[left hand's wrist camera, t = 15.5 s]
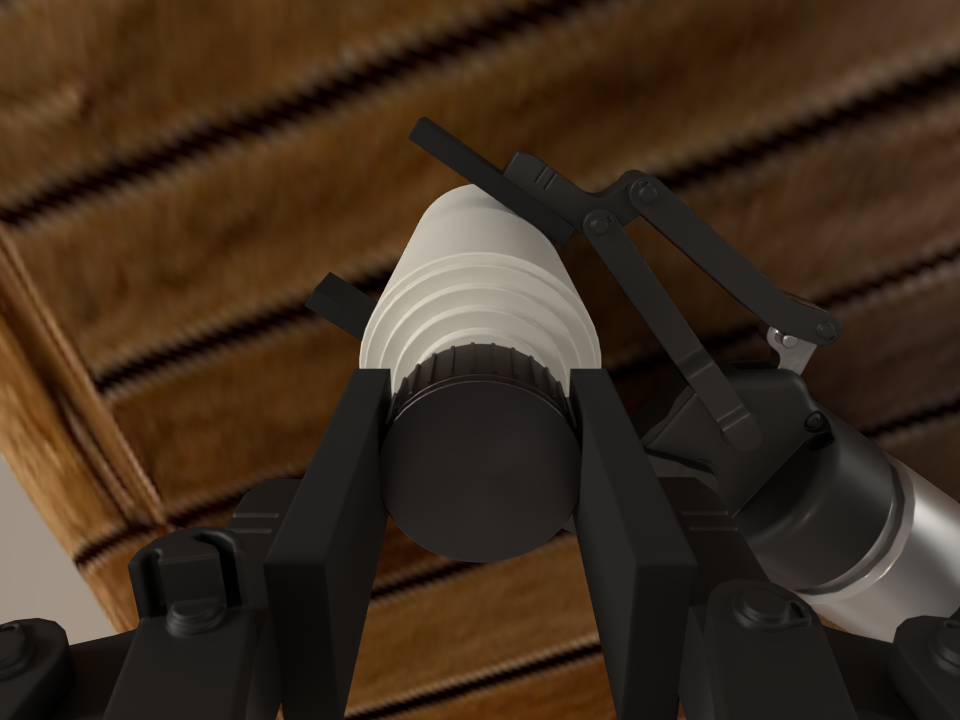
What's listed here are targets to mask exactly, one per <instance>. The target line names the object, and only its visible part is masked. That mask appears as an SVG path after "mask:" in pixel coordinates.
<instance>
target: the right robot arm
mask: <svg viewBox="0 0 960 720" xmlns="http://www.w3.org/2000/svg"><path fill="white" fill-rule="evenodd" d="M408 138H409V139H410V140H411V141H413V142H414V143H416V144H417V145H419V146H420V147H421V148H423V149H424V150H426V151H427V152H429V153H430V154H431V155H433V156H434V157H436V158H437V159H439V160H440V161H441V162H443V163H444V164H446V165H447V166H449V167H450V168H451V169H453V170H454V171H456V172H457V173H459V174H460V175H461V176H463V177H464V178H466V179H467V180H469V181H470V182H471V183H473V184H474V185H476V186H477V187H479V188H480V189H481V190H483V191H484V192H486V193H487V194H489V195H490V196H491V197H493V198H494V199H496V200H497V201H499V202H500V203H501V204H503V205H504V206H506V207H507V208H509V209H510V210H511V211H513V212H514V213H516V214H517V215H518V216H520V217H521V218H523V219H524V220H526V221H527V222H528V223H530V224H531V225H533V226H534V227H536V228H537V229H538V230H540V231H541V232H543V233H544V234H546V235H547V236H548V237H550V238H551V239H553V240H554V241H556V242H557V243H558V244H560V245H561V246H564V245H565V244H566V242H567V241H568V239H569V238H570V237H571V235H572V234H573V233H574V231H575V230H578V231H579V232H580V233H582V234H583V235H584V236H585V237H586V239H587V240H588V242H589V243H590V245H591V246H592V247H593V249H594V250H595V252H596V253H597V254H598V256H599V257H600V259H601V260H602V262H603V263H604V264H605V266H606V267H607V269H608V270H609V272H610V273H611V274H612V276H613V277H614V279H615V280H616V282H617V283H618V284H619V286H620V287H621V289H622V290H623V292H624V293H625V294H626V296H627V297H628V299H629V300H630V301H631V303H632V304H633V306H634V307H635V309H636V310H637V311H638V313H639V314H640V316H641V317H642V319H643V320H644V321H645V323H646V324H647V326H648V327H649V329H650V330H651V331H652V333H653V334H654V336H655V337H656V338H657V340H658V341H659V343H660V344H661V346H662V347H663V349H664V350H665V352H666V353H667V354H668V356H669V357H670V359H671V360H672V362H673V363H674V364H675V366H676V367H677V368H676V367H675V366H674V367H673V368H672V370H671V371H670V372H669V373H668V374H667V376H666V377H665V378H664V379H663V381H662V383H661V385H660V387H659V389H658V391H657V393H656V395H655V397H654V398H653V399H651V400H650V401H648V402H647V403H646V404H644V405H643V406H642V407H640V408H639V409H638V410H637V411H636V412H635V414H634V415H633V416H632V417H629V419H630V421H631V423H632V425H633V427H634V429H635V431H636V433H637V436H638V438H639V440H640V442H641V444H642V446H643V448H644V450H645V453H646V455H647V457H648V459H649V461H650V463H651V465H652V467H653V470H654V472H655V474H656V476H657V477H696V478H697V479H699V480H700V481H701V482H703V483H704V484H705V485H707V486H708V487H709V488H711V489H712V490H713V491H715V492H716V493H717V494H718V496H719V497H720V499H721V501H722V502H723V504H724V506H725V507H726V509H727V511H728V515H730V516H731V517H732V519H733V521H734V522H735V524H736V525H737V527H738V528H737V529H738V531H740V532H741V534H742V535H743V537H744V539H745V540H746V542H747V544H748V545H749V547H750V549H751V550H752V552H753V554H754V555H755V557H756V559H757V560H758V562H759V563H760V565H761V567H762V568H763V570H764V572H765V573H766V575H767V577H768V578H769V580H770V582H771V583H774V584H777V585H779V586H781V587H783V588H785V589H787V590H789V591H792V592H794V593H795V594H797V595H798V596H799V597H800V598H802V599H803V600H804V601H805V602H807V603H808V604H809V605H810V606H811V607H812V609H813V610H814V611H815V612H816V613H818V614H820V615H821V616H823V617H825V618H826V619H828V620H830V621H831V622H833V623H835V624H836V625H838V626H840V627H841V628H843V629H845V630H846V631H848V632H850V633H851V634H855V635H860V636H864V637H868V638H873V639H877V640H882V641H886V642H891V643H893V639H894V635H895V632H896V628H897V627H898V626H899V625H900V624H901V623H902V622H903V621H904V620H906V619H908V618H913V617H917V616H922V615H927V616H937V617H947V618H950V619H953V620H957V621H960V504H959V503H958V502H957V501H955V500H954V499H952V498H951V497H950V496H948V495H947V494H945V493H944V492H943V491H941V490H940V489H938V488H937V487H936V486H934V485H933V484H931V483H930V482H929V481H927V480H926V479H924V478H923V477H922V476H920V475H919V474H917V473H916V472H915V471H913V470H912V469H910V468H909V467H908V466H906V465H905V464H904V463H902V462H901V461H899V460H898V459H897V458H895V457H893V456H892V455H890V454H888V453H887V452H885V451H883V450H881V449H880V448H879V447H878V446H877V445H876V444H875V443H874V442H872V441H871V440H870V439H868V438H867V437H865V436H864V435H863V434H861V433H860V432H858V431H857V430H856V429H854V428H853V427H851V426H850V425H849V424H847V423H846V422H844V421H843V420H842V419H840V418H839V417H837V416H836V415H835V414H833V413H832V412H830V411H829V410H828V409H826V408H825V407H823V406H822V405H821V404H819V403H818V402H816V401H815V400H813V399H812V398H811V396H810V394H809V392H808V389H807V386H806V383H805V381H804V380H803V379H802V377H801V376H800V375H801V374H802V372H803V370H804V368H805V366H806V365H807V363H808V361H809V359H810V357H811V355H812V354H813V352H814V350H815V348H816V346H817V345H820V346H826V345H830V344H831V343H833V342H835V341H836V340H837V339H838V337H839V336H840V334H841V331H842V327H841V323H840V321H839V319H837V318H836V317H834V316H832V315H831V314H829V313H828V312H826V311H824V310H823V309H821V308H819V307H818V306H816V305H814V304H812V303H811V302H809V301H808V300H806V299H804V298H801V297H798V296H796V295H793V294H790V293H787V292H784V291H782V290H780V289H779V288H777V287H776V286H775V285H774V284H773V283H772V282H771V281H770V280H769V279H768V278H766V277H765V276H764V275H763V274H762V273H761V272H760V271H759V270H758V269H757V268H755V267H754V266H753V265H752V264H751V263H750V262H749V261H748V260H747V259H745V258H744V257H743V256H742V255H741V254H740V253H739V252H738V251H737V250H736V249H734V248H733V247H732V246H731V245H730V244H729V243H728V242H727V241H726V240H725V239H723V238H722V237H721V236H720V235H719V234H718V233H717V232H716V231H715V230H714V229H712V228H711V227H710V226H709V225H708V224H707V223H706V222H705V221H704V220H702V219H701V218H700V217H699V216H698V215H697V214H696V213H695V212H694V211H693V210H691V209H690V208H689V207H688V206H687V205H686V204H685V203H684V202H683V201H682V200H680V199H679V198H678V197H677V196H676V195H675V194H674V193H673V192H672V191H671V190H669V189H668V188H667V187H666V186H665V185H664V184H663V183H662V182H661V181H659V180H658V179H656V178H654V177H652V176H650V175H648V174H645V173H643V172H641V171H638V170H630V171H627V172H625V173H624V174H623V175H621V177H620V178H619V180H618V181H616V182H615V183H614V184H612V185H611V186H609V187H608V188H607V189H605V190H603V191H601V192H598V193H588V192H585V191H583V190H581V189H580V188H578V187H577V186H576V185H574V184H573V183H572V182H570V181H569V180H567V179H566V178H565V177H563V176H562V175H561V174H559V173H558V172H556V171H555V170H554V169H552V168H551V167H549V166H548V165H547V164H545V163H544V162H543V161H541V160H540V159H538V158H537V157H536V156H534V155H533V154H532V153H529V152H525V151H521V150H517V149H516V151H515V152H514V154H513V155H512V156H511V158H510V159H509V161H508V162H507V164H506V165H505V167H504V168H503V170H502V171H501V170H500V169H498V168H497V167H496V166H494V165H493V164H491V163H490V162H489V161H487V160H486V159H484V158H483V157H482V156H480V155H479V154H477V153H476V152H475V151H473V150H472V149H470V148H469V147H468V146H466V145H465V144H463V143H462V142H461V141H459V140H458V139H456V138H455V137H454V136H452V135H451V134H449V133H448V132H447V131H445V130H444V129H442V128H441V127H440V126H438V125H437V124H435V123H434V122H432V121H431V120H430V119H428V118H427V117H422V118H419V120H418V122H417V123H416V125H415V127H414V128H413V130H412V131H411V133H410V135H409V136H408ZM639 215H641V216H642V217H643V218H644V219H645V220H646V221H647V222H649V223H650V224H651V225H652V226H653V227H654V228H655V229H656V230H658V231H659V232H660V233H661V234H662V235H663V236H664V237H666V238H667V239H668V240H669V241H670V242H671V243H672V244H673V245H675V246H676V247H677V248H678V249H679V250H680V251H681V252H683V253H684V254H685V255H686V256H687V257H688V258H689V259H690V260H692V261H693V262H694V263H695V264H696V265H697V266H698V267H700V268H701V269H702V270H703V271H704V272H705V273H706V274H707V275H709V276H710V277H711V278H712V279H713V280H714V281H715V282H716V283H718V284H719V285H720V286H721V287H722V288H723V289H724V290H726V291H727V292H728V293H729V294H730V295H731V296H732V297H733V298H735V299H736V300H737V301H738V302H739V303H741V304H742V305H743V306H745V307H746V308H747V309H749V310H750V311H751V312H752V313H754V314H755V315H756V316H758V317H759V318H760V322H759V327H758V333H759V336H760V337H761V339H763V340H764V341H765V342H766V343H767V344H769V345H770V347H771V356H770V359H751V360H713V359H712V358H711V356H710V355H709V354H708V352H707V351H706V350H705V348H704V347H703V345H702V344H701V343H700V341H699V340H698V338H697V337H696V335H695V334H694V332H693V331H692V329H691V328H690V326H689V325H688V323H687V322H686V321H685V319H684V318H683V316H682V315H681V313H680V312H679V310H678V309H677V307H676V306H675V304H674V303H673V301H672V300H671V298H670V297H669V295H668V294H667V293H666V291H665V290H664V288H663V287H662V285H661V284H660V282H659V281H658V279H657V278H656V276H655V275H654V273H653V272H652V270H651V269H650V268H649V266H648V265H647V263H646V262H645V260H644V259H643V257H642V256H641V254H640V253H639V251H638V250H637V248H636V247H635V245H634V244H633V243H632V241H631V240H630V238H629V237H628V235H627V234H626V232H625V231H624V229H623V228H622V227H623V226H624V225H626V224H627V223H629V222H630V221H632V220H633V219H635V218H636V217H638V216H639ZM377 304H378V302H377V301H375V300H374V299H372V298H370V297H369V296H367V295H366V294H364V293H363V292H361V291H359V290H358V289H356V288H355V287H353V286H352V285H350V284H348V283H347V282H345V281H344V280H342V279H341V278H339V277H337V276H336V275H334V274H333V273H331V272H330V273H329V274H328V275H327V276H326V277H325V278H324V279H323V280H322V282H321V283H320V284H319V285H318V286H317V287H316V288H315V290H314V291H313V293H312V294H311V296H310V298H309V299H308V301H307V303H306V304H305V306H306V307H308V308H309V309H311V310H312V311H314V312H316V313H317V314H319V315H321V316H322V317H324V318H325V319H327V320H329V321H330V322H332V323H333V324H335V325H337V326H338V327H340V328H342V329H343V330H345V331H346V332H348V333H350V334H351V335H353V336H354V337H356V338H358V339H359V340H361V341H362V340H363V336H364V333H365V329H366V327H367V324H368V322H369V320H370V318H371V315H372V313H373V311H374V309H375V307H376V306H377ZM562 528H563V529H565V530H567V531H569V532H571V533H573V534H575V535H577V534H576V529H575V525H574V520H573V516H572V514H571V516H570V518H569V519H568V521H567V522H566V523H565V524H564V525H563V527H562Z"/></svg>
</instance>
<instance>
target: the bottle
mask: <svg viewBox="0 0 960 720" xmlns="http://www.w3.org/2000/svg"><path fill="white" fill-rule="evenodd" d="M471 342H475V344H491V343H495V344H496V345H499V346H504V347H508V348H511V347H514V348H515V350H517V351H519V352H521V353H523V354H526V355H528V356H530V355H531V356H533V357H534V360H536V361H537V362H539V363H540V364H541V365H542V366H543V367H544V368H545V367H546V366H547V367H548V368H549V371H550V374H551V375H552V376H553V377H554V378H555V379H556V381H560V382H561V384H562V388H563V391H564V395H565V397H569V384H570V369H601V352H600V346H599V340H598V337H597V334H596V330H595V327H594V325H593V323H592V320H591V318H590V316H589V314H588V312H587V310H586V308H585V306H584V304H583V302H582V300H581V298H580V296H579V294H578V293H577V291H576V289H575V287H574V285H573V283H572V281H571V279H570V277H569V275H568V273H567V271H566V269H565V267H564V265H563V263H562V261H561V259H560V258H559V256H558V254H557V252H556V250H555V248H554V246H553V244H552V242H551V240H550V238H549V237H548V236H547V235H546V234H544V233H543V232H541V231H540V230H538V229H537V228H536V227H534V226H533V225H531V224H530V223H528V222H527V221H526V220H524V219H523V218H521V217H520V216H518V215H517V214H516V213H514V212H513V211H511V210H510V209H509V208H507V207H506V206H504V205H503V204H501V203H500V202H499V201H497V200H496V199H494V198H493V197H491V196H490V195H489V194H487V193H486V192H484V191H483V190H481V189H480V188H479V187H477V186H476V185H474V184H470V185H466V186H461V187H458V188H456V189H453V190H451V191H449V192H447V193H445V194H444V195H442V196H441V197H440V198H438V199H437V200H436V201H435V202H434V203H433V204H432V205H431V206H430V207H429V208H428V209H427V210H426V212H425V213H424V215H423V216H422V218H421V220H420V222H419V224H418V226H417V228H416V230H415V231H414V233H413V235H412V237H411V239H410V241H409V243H408V245H407V247H406V249H405V251H404V253H403V255H402V257H401V259H400V261H399V263H398V265H397V267H396V268H395V270H394V272H393V274H392V276H391V278H390V280H389V282H388V284H387V286H386V288H385V290H384V292H383V294H382V296H381V298H380V300H379V302H378V304H377V306H376V307H375V309H374V311H373V313H372V315H371V318H370V320H369V322H368V324H367V327H366V329H365V333H364V336H363V340H362V344H361V351H360V369H391V389H392V397H393V394H394V392H395V393H397V392H398V390H399V388H400V386H401V383H402V379H403V378H404V377H406V378H407V377H408V375H409V374H410V373H411V372H412V371H413V370H414V369H415V366H416V365H417V364H418V363H419V364H421V363H422V362H424V361H425V360H427V359H428V358H430V357H432V354H433V353H436V354H437V353H440V352H442V351H444V350H447V349H450V348H451V346H455V347H456V346H462V345H467V344H471Z"/></svg>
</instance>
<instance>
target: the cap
mask: <svg viewBox="0 0 960 720" xmlns="http://www.w3.org/2000/svg"><path fill="white" fill-rule="evenodd" d="M384 427H386V428H385V432H384V435H383V439H382V442H381V446H380V449H379V472H380V489H381V499H382V501H383V503H384V505H385V508H386V510H387V511H388V513H389V515H390V516H391V518H392V519H393V521H394V522H395V523H396V524H397V526H398V527H399V528H400V529H401V530H402V531H403V532H404V533H405V534H406V535H407V536H408V537H409V538H411V539H412V540H413V541H415V542H416V543H418V544H419V545H420V546H422V547H424V548H426V549H428V550H429V551H431V552H434V553H436V554H439V555H441V556H444V557H448V558H451V559H455V560H461V561H467V562H494V561H500V560H506V559H509V558H513V557H517V556H520V555H522V554H524V553H527V552H529V551H531V550H533V549H535V548H537V547H539V546H540V545H542V544H543V543H545V542H546V541H547V540H549V539H550V538H551V537H553V536H554V535H555V534H556V533H557V532H558V531H559V530H560V529H561V528H562V527H563V525H564V524H565V523H566V522H567V521H568V519H569V518H570V516H571V514H572V513H573V511H574V510H575V507H576V505H577V503H578V501H579V498H580V485H581V469H582V450H581V446H580V443H579V439H578V436H577V433H576V432H579V429H578V425H577V422H576V419H575V415H574V412H573V409H572V406H571V402H570V399H569V397H565V395H564V391H563V388H562V384H561V382H560V381H556V379H555V378H554V377H553V376H552V375H551V374H550V371H549V368H548V367H547V366H546V367H545V368H544V367H543V366H542V365H541V364H540V363H539V362H537V361H536V360H534V357H533V356H531V355H530V356H528V355H526V354H523V353H521V352H519V351H517V350H515V348H514V347H511V348H508V347H504V346H499V345H496V344H495V343H491V344H475V342H471V344H467V345H462V346H456V347H455V346H451V348H450V349H447V350H444V351H442V352H440V353H437V354H436V353H433V354H432V357H430V358H428V359H427V360H425V361H424V362H422V363H421V364H419V363H418V364H417V365H416V366H415V369H414V370H413V371H412V372H411V373H410V374H409V375H408V377H407V378H406V377H404V378H403V379H402V383H401V386H400V388H399V390H398V392H397V393H395V392H394V394H393V397H392V400H391V403H390V407H389V410H388V413H387V417H386V420H385V423H384Z"/></svg>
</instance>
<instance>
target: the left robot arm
mask: <svg viewBox="0 0 960 720" xmlns="http://www.w3.org/2000/svg"><path fill="white" fill-rule="evenodd" d="M569 399H570V402H571V406H572V409H573V412H574V415H575V419H576V422H577V425H578V429H579V432H576V433H577V436H578V439H579V443H580V446H581V450H582V469H581V485H580V498H579V501H578V503H577V505H576V507H575V510H574V511H573V513H572V516H573V520H574V525H575V529H576V534H577V538H578V543H579V547H580V552H581V556H582V561H583V565H584V570H585V574H586V579H587V583H588V588H589V592H590V597H591V601H592V606H593V610H594V615H595V619H596V624H597V629H598V633H599V638H600V642H601V647H602V651H603V656H604V660H605V665H606V669H607V674H608V678H609V683H610V687H611V692H612V696H613V701H614V705H615V710H616V714H617V719H618V720H677V715H678V708H679V701H681V704H682V707H683V710H684V713H685V716H686V719H687V720H960V621H957V620H953V619H950V618H947V617H937V616H927V615H922V616H917V617H913V618H908V619H906V620H904V621H903V622H902V623H901V624H900V625H899V626H898V627H897V628H896V632H895V635H894V639H893V643H891V642H886V641H882V640H877V639H873V638H868V637H864V636H860V635H855V634H851V633H846V632H843V631H839V630H836V629H833V628H829V627H826V626H824V625H822V624H821V621H820V619H819V618H818V616H817V615H816V613H815V612H814V610H813V609H812V607H811V606H810V605H809V604H808V603H807V602H805V601H804V600H803V599H802V598H800V597H799V596H798V595H797V594H795V593H794V592H792V591H789V590H787V589H785V588H783V587H781V586H779V585H777V584H774V583H771V582H770V580H769V578H768V577H767V575H766V573H765V572H764V570H763V568H762V567H761V565H760V563H759V562H758V560H757V559H756V557H755V555H754V554H753V552H752V550H751V549H750V547H749V545H748V544H747V542H746V540H745V539H744V537H743V535H742V534H741V532H740V531H738V529H737V528H738V527H737V525H736V524H735V522H734V521H733V519H732V517H731V516H730V515H728V511H727V509H726V507H725V506H724V504H723V502H722V501H721V499H720V497H719V496H718V494H717V493H716V492H715V491H713V490H712V489H711V488H709V487H708V486H707V485H705V484H704V483H703V482H701V481H700V480H699V479H697V478H696V477H657V476H656V474H655V472H654V470H653V467H652V465H651V463H650V461H649V459H648V457H647V455H646V453H645V450H644V448H643V446H642V444H641V442H640V440H639V438H638V436H637V433H636V431H635V429H634V427H633V425H632V423H631V421H630V419H629V416H628V414H627V412H626V410H625V408H624V406H623V404H622V402H621V399H620V397H619V395H618V393H617V391H616V389H615V387H614V385H613V382H612V380H611V378H610V376H609V374H608V372H607V370H606V369H570V384H569ZM391 400H392V389H391V369H354V371H353V374H352V376H351V378H350V380H349V382H348V384H347V386H346V388H345V391H344V393H343V395H342V397H341V399H340V401H339V403H338V405H337V408H336V410H335V412H334V414H333V416H332V418H331V420H330V422H329V425H328V427H327V429H326V431H325V433H324V435H323V437H322V439H321V442H320V444H319V446H318V448H317V450H316V452H315V454H314V456H313V459H312V461H311V463H310V465H309V467H308V469H307V471H306V473H305V476H304V478H303V479H265V480H264V481H263V482H261V483H260V484H259V485H257V486H256V487H255V488H253V489H252V490H251V491H249V492H248V493H247V494H245V495H244V496H243V498H242V500H241V501H240V503H239V505H238V506H237V508H236V510H235V511H234V513H233V518H230V520H229V521H228V523H227V525H226V526H225V528H220V527H193V528H188V529H183V530H179V531H175V532H172V533H170V534H167V535H165V536H163V537H160V538H158V539H155V540H154V541H152V542H151V543H149V544H148V545H146V546H145V547H144V548H142V549H141V550H139V551H138V552H137V553H136V555H135V556H134V557H133V558H132V560H131V561H130V562H129V564H128V569H129V574H130V578H131V583H132V587H133V592H134V596H135V601H136V605H137V610H138V614H139V619H140V622H139V625H138V627H137V628H136V629H134V630H131V631H128V632H124V633H121V634H117V635H114V636H109V637H105V638H100V639H96V640H92V641H87V642H83V643H78V644H74V645H69V643H68V639H67V636H66V632H65V630H64V629H63V628H62V627H61V626H60V625H58V624H57V623H56V622H55V621H50V620H45V619H41V618H33V619H22V620H14V621H11V622H8V623H5V624H1V625H0V720H275V719H276V716H277V713H278V710H279V707H280V704H281V702H282V709H283V717H284V720H343V718H344V713H345V709H346V704H347V700H348V695H349V691H350V686H351V682H352V677H353V673H354V668H355V664H356V659H357V655H358V650H359V645H360V641H361V636H362V632H363V627H364V623H365V618H366V614H367V609H368V605H369V600H370V596H371V591H372V587H373V582H374V578H375V573H376V569H377V564H378V560H379V555H380V551H381V546H382V542H383V537H384V533H385V528H386V524H387V519H388V515H389V513H388V511H387V510H386V508H385V505H384V503H383V501H382V499H381V489H380V472H379V449H380V446H381V442H382V439H383V435H384V432H385V428H386V427H384V423H385V420H386V417H387V413H388V410H389V407H390V403H391Z"/></svg>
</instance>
